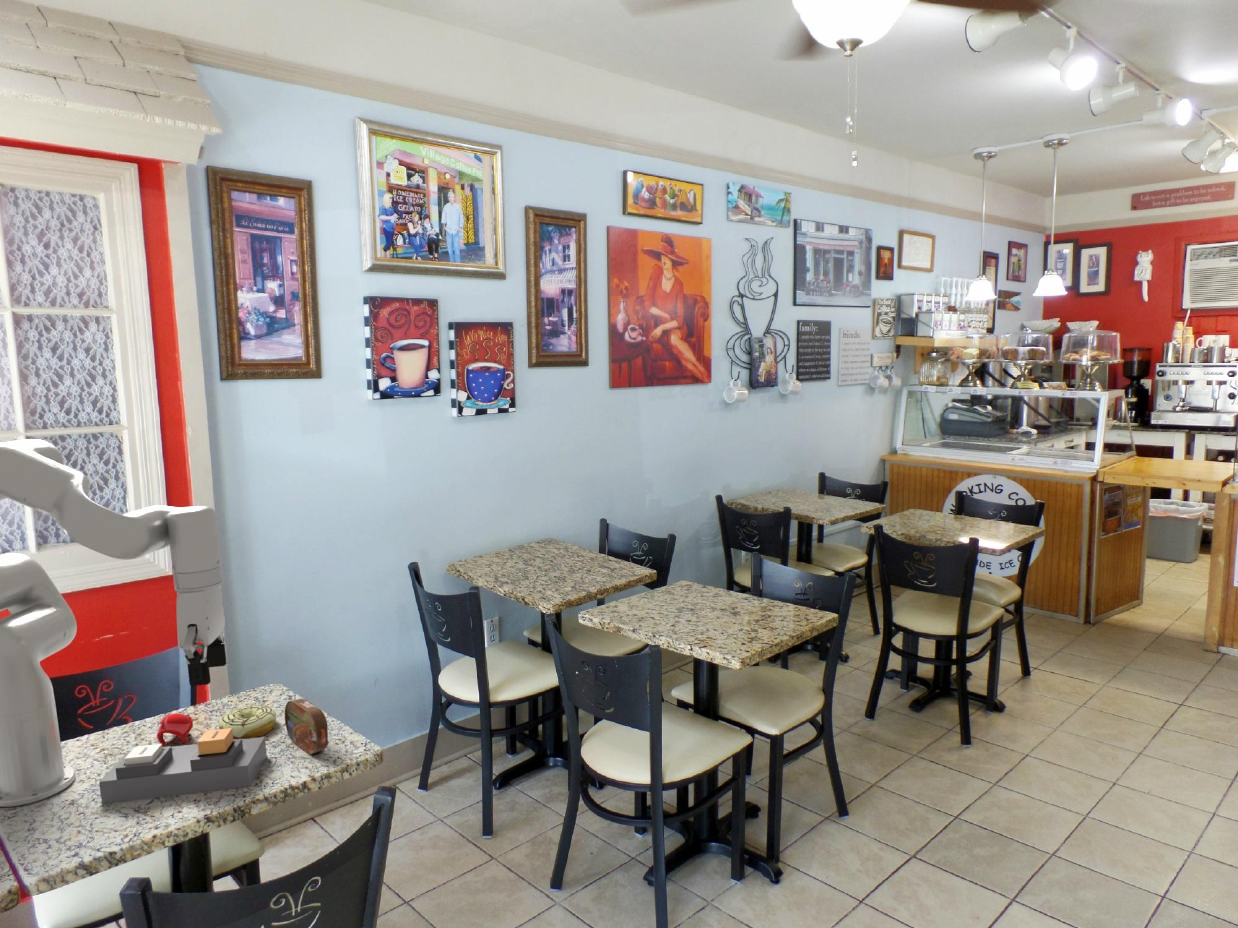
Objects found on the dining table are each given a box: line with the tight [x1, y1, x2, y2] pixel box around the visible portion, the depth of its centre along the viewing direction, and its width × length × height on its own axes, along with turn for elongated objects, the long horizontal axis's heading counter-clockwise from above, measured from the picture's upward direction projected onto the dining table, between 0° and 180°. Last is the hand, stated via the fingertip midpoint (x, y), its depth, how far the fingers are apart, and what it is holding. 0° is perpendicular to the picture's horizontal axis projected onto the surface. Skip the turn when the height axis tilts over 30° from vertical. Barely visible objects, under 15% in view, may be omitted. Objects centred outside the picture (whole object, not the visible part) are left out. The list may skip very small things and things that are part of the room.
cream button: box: [124, 743, 163, 765], centre depth 141 cm, size 4×4×2 cm
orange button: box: [197, 728, 234, 755], centre depth 143 cm, size 4×4×2 cm
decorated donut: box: [218, 704, 277, 740], centre depth 164 cm, size 10×11×4 cm
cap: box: [156, 712, 194, 747], centre depth 160 cm, size 8×6×6 cm
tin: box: [284, 698, 329, 755], centre depth 156 cm, size 15×3×8 cm, turn 44°
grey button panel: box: [98, 736, 268, 805], centre depth 144 cm, size 24×11×6 cm, turn 99°
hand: (208, 674), depth 141 cm, fingers open, 7 cm apart
